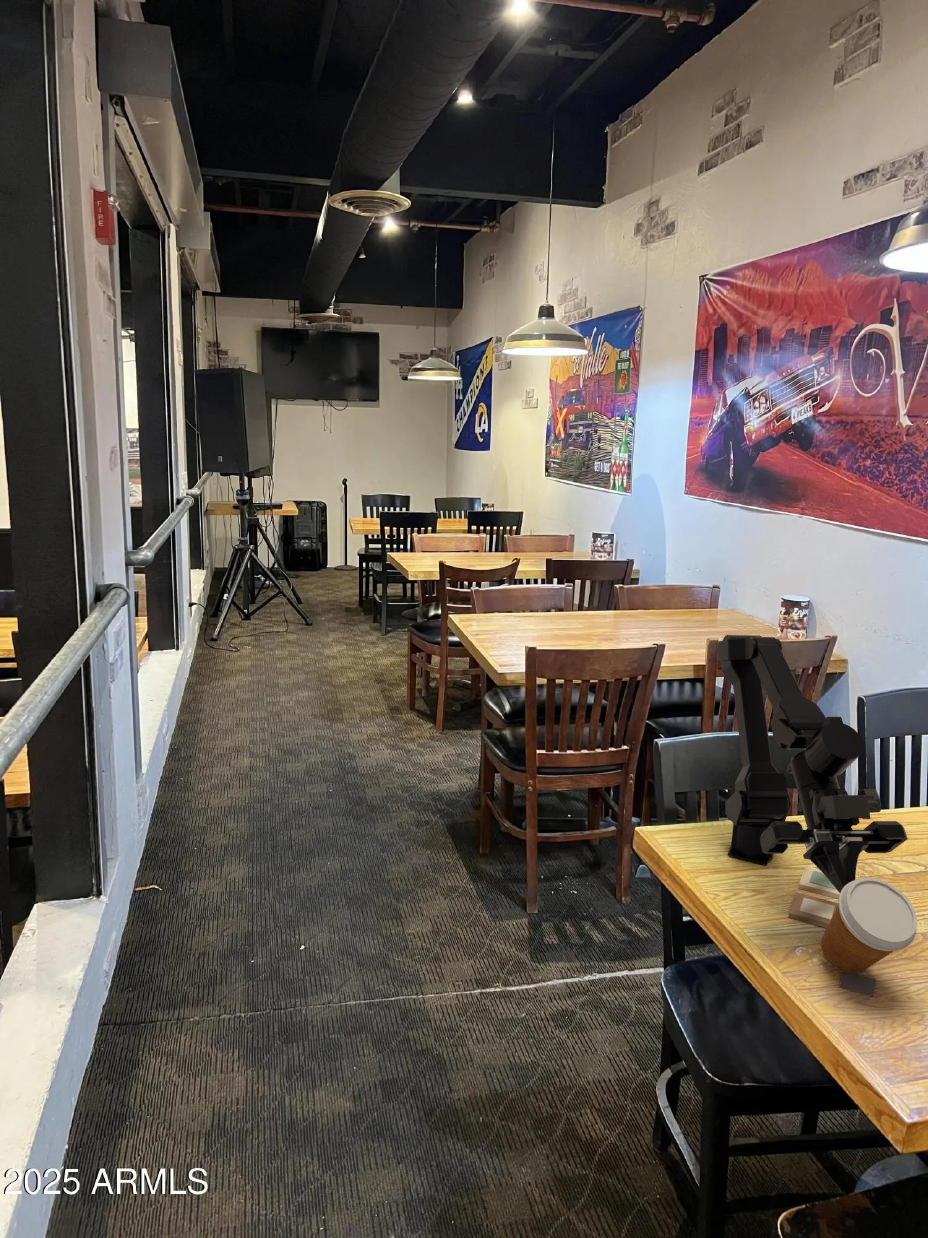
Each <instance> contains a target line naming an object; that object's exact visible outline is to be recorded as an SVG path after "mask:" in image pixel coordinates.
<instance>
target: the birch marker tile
mask: <svg viewBox="0 0 928 1238" xmlns="http://www.w3.org/2000/svg"><path fill="white" fill-rule="evenodd" d="M798 889H799V890H803V891H808V892H811V893H815V894H818V895H822V896H826V897H830V898H833V899H838V900H839V896H840V893H839V892H838V890H837V889H836V888H835V887H834V885H833V884H832V883H831V882H830V881H829V879H828V878H827V877H826V876H825V875H824V874H823V873H822V871H821V870H820V869H819V868H818V867H812V866H809V865H805V867H804V870H803V872H802V875H801V878H800V881H799V883H798Z"/></svg>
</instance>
